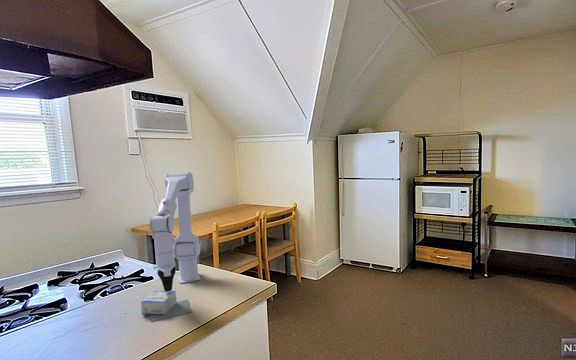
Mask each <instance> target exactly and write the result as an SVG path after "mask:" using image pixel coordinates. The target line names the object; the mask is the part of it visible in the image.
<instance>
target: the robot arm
mask: <svg viewBox="0 0 576 360" xmlns="http://www.w3.org/2000/svg"><path fill="white" fill-rule="evenodd" d="M163 179H164V186H165V188H166V191H165V196H164V198H163V199H162V200H161V201H160V202H159V205H158V207H157V211H156V213H155V215H154V216H152V217H151V219H150V221H149V230H150V233H151V237H152V239H153V240H154V251H155V252H154V253H155V262H156V263H155V264H153V265H152V269H154V270H155V269H157V276H158V277H159V279H160V280H161V283H162V287H163V291H165V292H167V291H173V290H172V289H173V284H174V282H173V281H174V277H175V274H176V261H175V259H176V260H177V261H178V269H179V274H178V275H177V277H178V280H179V284H186V283H191V282H195V281H201V280H202V279H201V278H202V277H200V276H201V275H200V274H199V268H198V257H199V255H200V254H201V243H200V237H199V236H197V235H196V234H194V233H193V232H192V219H191V218H192V215H191V214H192V213H191V199H190V197H191V193H194V189H195V188H194V187H195V186H194V185H195V184H194V183H195V182H194V175H193V173H191V171H187V172H186V171H185V172H173V173H172V172H171V173H170V172H167V173H166V174H165V176H164V177H163ZM176 201H177V202H176ZM176 210H177V212H178V213H177V216H178V230H179V231H178V232H179V234H178V235H177V236H176V237H174V238H173V232H174V229H175V214H176Z"/></svg>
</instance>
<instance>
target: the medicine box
mask: <svg viewBox="0 0 576 360" xmlns="http://www.w3.org/2000/svg"><path fill="white" fill-rule="evenodd" d="M177 302H178V301H177V293H176V290H171V291H167V292H165V290H154V291H153V292H151V293H150V294H149V295H147V297H145V298H144V299H142V300H141V301H140V303H141V304H140V305H141V307H140V308H141V315H142V316H143V315H146V316H147V315H148V316H149V315H150V316H151V314H166V313H167V312H168V311H169V310H170V309H171V308H172V307H173V306H174V305H175V304H176V303H177Z"/></svg>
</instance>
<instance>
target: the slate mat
mask: <svg viewBox="0 0 576 360" xmlns="http://www.w3.org/2000/svg"><path fill="white" fill-rule="evenodd" d="M191 313H192V309H191V306H190V302H189V299H183V300H179V301H177V303H176V304H175V305H174V306H173V307H172V308H171V309H170V310H169V311H168V312H167V313H166V314H150V322H151V323H152V322H155V321H160V320H165V319H168V318H169V319H170V318H174V317H177V316H182V315H186V314H191Z"/></svg>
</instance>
